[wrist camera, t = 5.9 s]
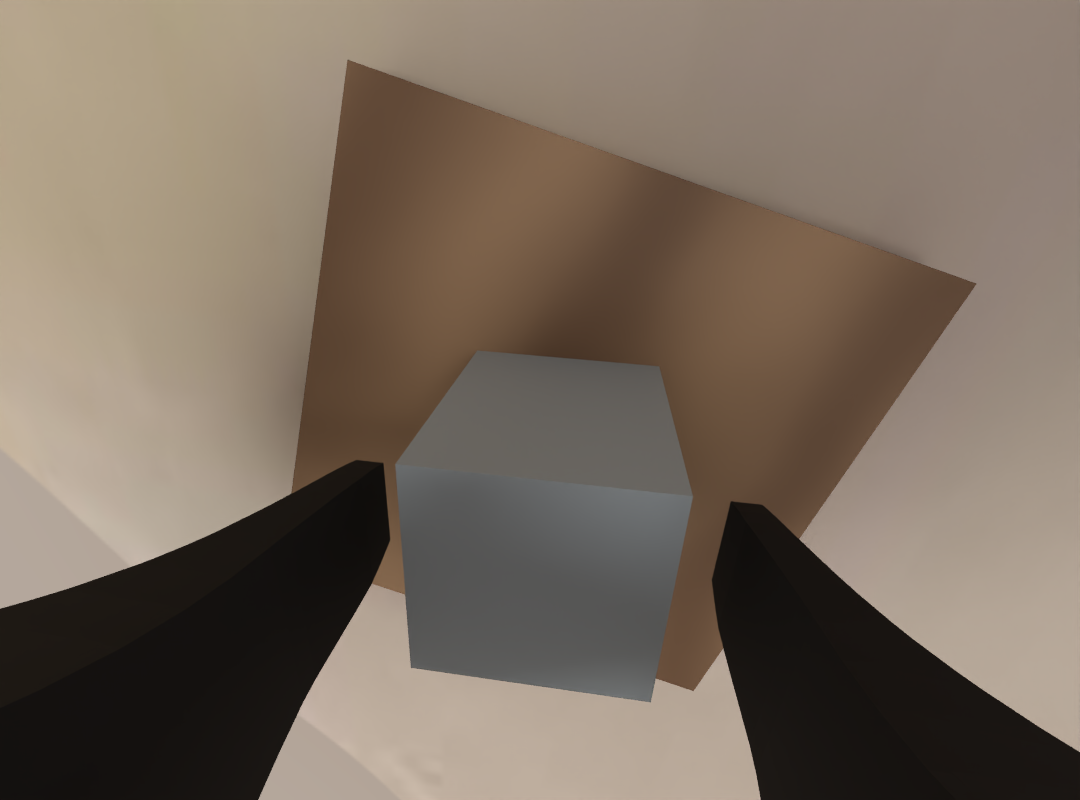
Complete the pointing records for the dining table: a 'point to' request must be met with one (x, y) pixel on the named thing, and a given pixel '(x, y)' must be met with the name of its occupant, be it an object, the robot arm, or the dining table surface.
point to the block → (544, 525)
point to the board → (599, 314)
